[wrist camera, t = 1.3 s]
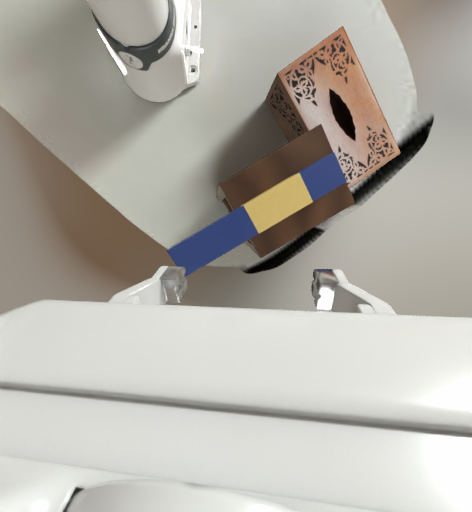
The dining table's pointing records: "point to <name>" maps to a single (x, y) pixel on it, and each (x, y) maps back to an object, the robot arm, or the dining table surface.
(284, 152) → the brown box
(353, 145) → the tissue box cover
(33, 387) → the robot arm
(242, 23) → the dining table surface
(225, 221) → the spaghetti packet
